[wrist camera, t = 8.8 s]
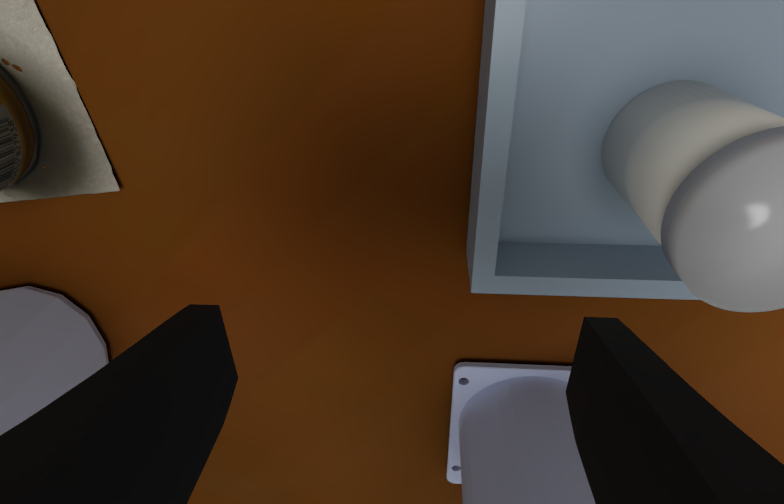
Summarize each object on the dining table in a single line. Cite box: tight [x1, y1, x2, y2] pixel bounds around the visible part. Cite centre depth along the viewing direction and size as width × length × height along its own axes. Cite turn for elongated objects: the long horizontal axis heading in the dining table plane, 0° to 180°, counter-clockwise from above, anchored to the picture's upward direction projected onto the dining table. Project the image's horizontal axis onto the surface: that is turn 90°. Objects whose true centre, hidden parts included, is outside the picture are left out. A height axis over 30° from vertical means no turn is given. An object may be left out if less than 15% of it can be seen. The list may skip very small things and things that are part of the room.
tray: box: [466, 0, 784, 300], centre depth 14 cm, size 16×14×3 cm
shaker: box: [602, 80, 784, 312], centre depth 14 cm, size 5×5×6 cm
